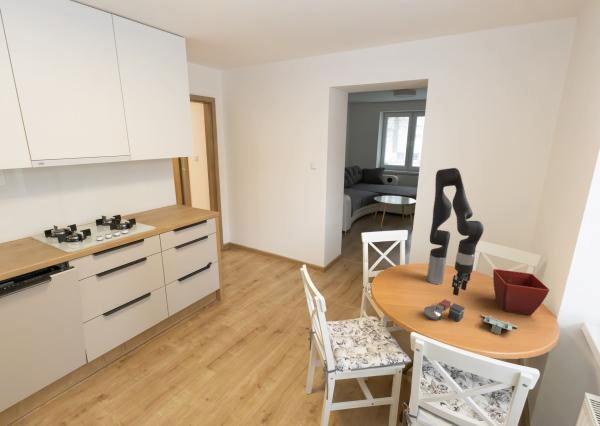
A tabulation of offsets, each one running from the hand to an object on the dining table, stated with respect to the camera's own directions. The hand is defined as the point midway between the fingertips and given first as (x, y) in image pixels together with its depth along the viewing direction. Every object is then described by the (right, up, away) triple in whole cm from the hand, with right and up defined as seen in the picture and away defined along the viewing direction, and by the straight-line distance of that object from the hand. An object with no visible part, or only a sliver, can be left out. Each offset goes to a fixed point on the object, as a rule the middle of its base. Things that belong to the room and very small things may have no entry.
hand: (459, 292), depth 145 cm
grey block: (0, -14, +4) cm, 14 cm away
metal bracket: (+17, -16, -2) cm, 24 cm away
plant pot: (+37, -12, +14) cm, 41 cm away
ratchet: (-7, -13, +8) cm, 17 cm away
